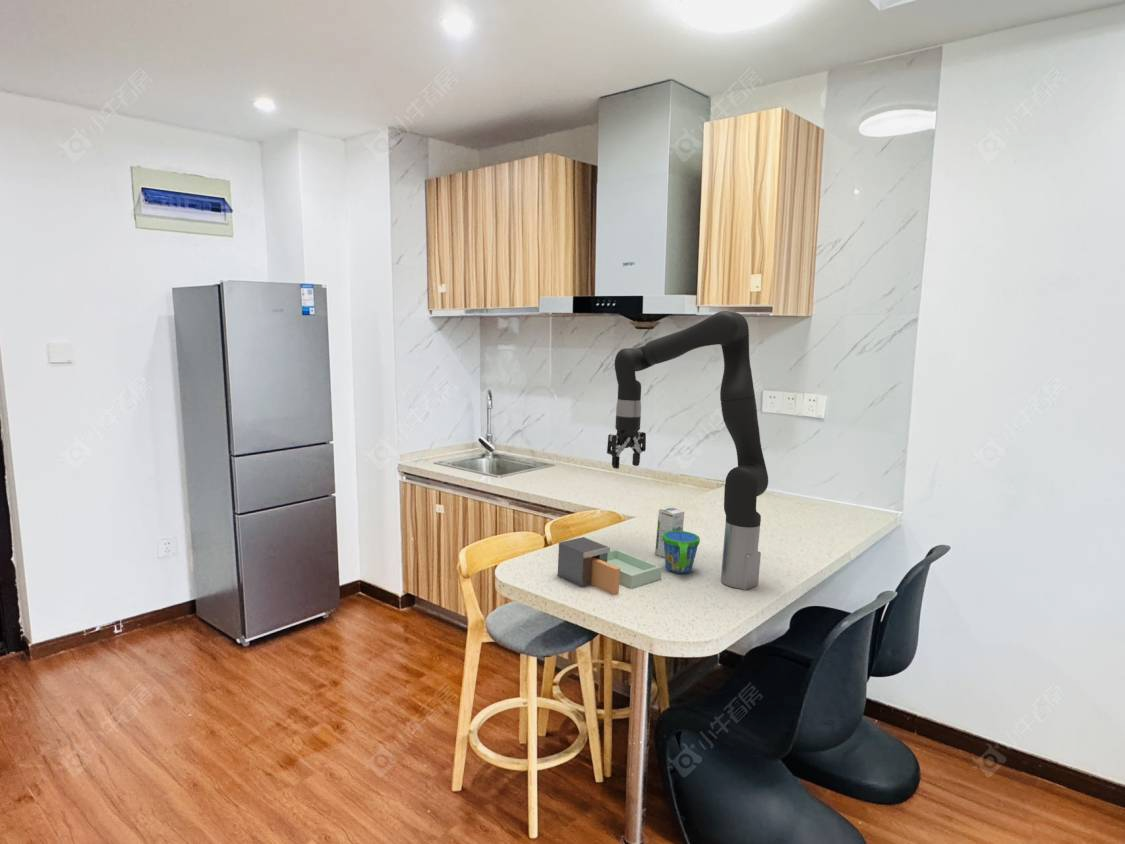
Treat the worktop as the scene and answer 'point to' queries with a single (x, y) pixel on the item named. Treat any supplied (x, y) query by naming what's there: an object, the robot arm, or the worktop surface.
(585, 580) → the box
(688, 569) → the snack cup
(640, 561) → the tray
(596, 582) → the brown rectangular block
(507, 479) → the worktop surface
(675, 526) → the syrup box
